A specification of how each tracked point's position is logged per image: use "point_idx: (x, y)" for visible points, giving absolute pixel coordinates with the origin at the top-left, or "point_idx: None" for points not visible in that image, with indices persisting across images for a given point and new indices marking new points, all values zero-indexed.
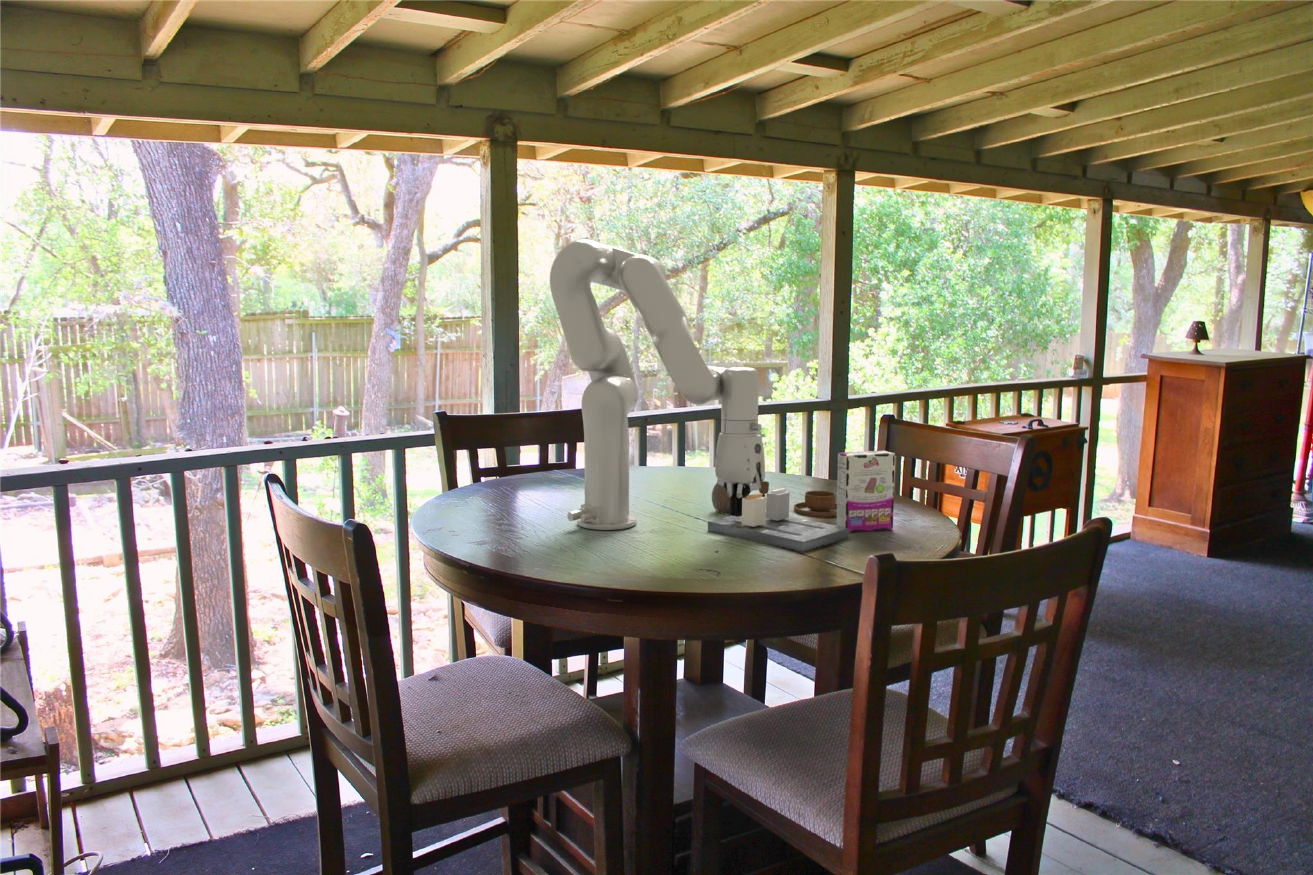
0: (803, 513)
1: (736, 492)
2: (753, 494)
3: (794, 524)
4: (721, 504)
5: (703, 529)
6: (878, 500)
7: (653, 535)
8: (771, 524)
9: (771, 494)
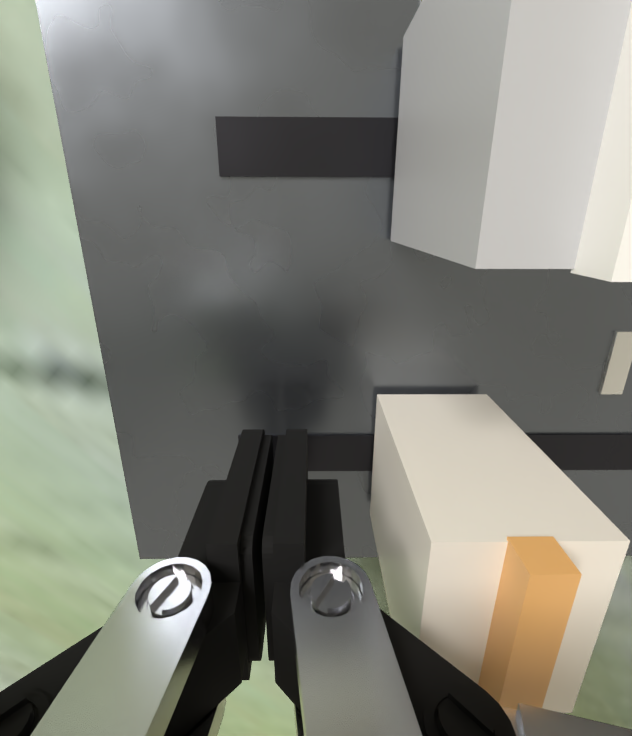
0: None
1: (223, 666)
2: (508, 669)
3: None
4: None
5: (121, 509)
6: None
7: None
8: (512, 349)
9: (579, 269)
